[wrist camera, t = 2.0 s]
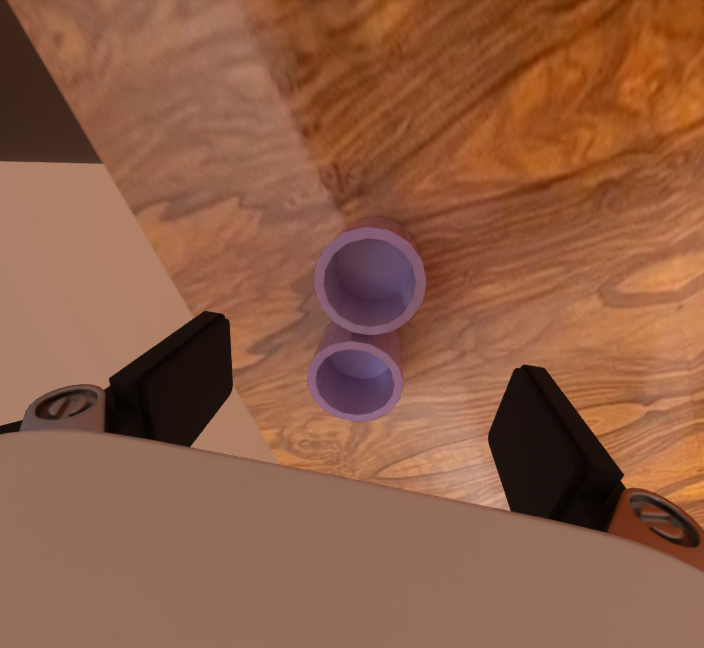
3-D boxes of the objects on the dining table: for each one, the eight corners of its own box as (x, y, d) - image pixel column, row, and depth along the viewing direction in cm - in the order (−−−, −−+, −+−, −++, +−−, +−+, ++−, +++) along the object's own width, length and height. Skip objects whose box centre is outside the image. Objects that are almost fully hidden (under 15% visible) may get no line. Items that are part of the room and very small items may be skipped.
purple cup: (319, 373, 28) (304, 412, 23) (325, 305, 25) (310, 334, 20) (393, 386, 27) (393, 428, 23) (408, 318, 25) (411, 351, 20)
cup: (326, 298, 25) (311, 326, 20) (333, 210, 22) (318, 220, 17) (409, 310, 24) (413, 342, 20) (428, 223, 22) (437, 236, 17)
